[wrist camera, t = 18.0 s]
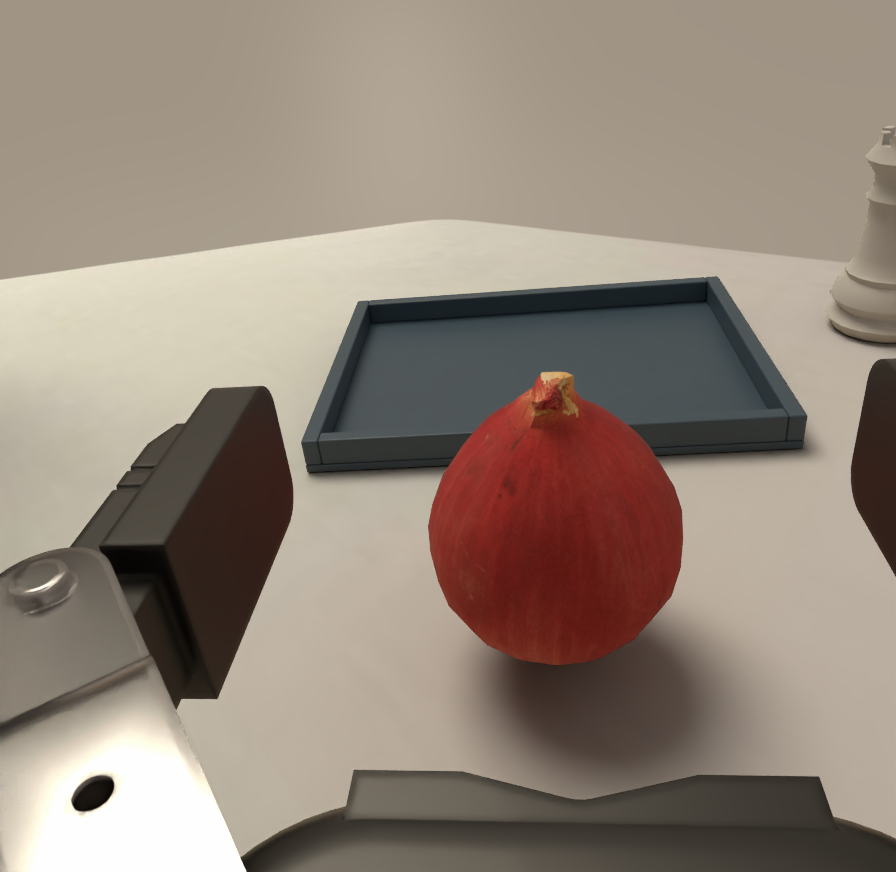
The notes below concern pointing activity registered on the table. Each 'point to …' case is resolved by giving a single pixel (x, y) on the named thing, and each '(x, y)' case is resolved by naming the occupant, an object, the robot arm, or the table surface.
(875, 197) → the rook chess piece
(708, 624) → the table surface
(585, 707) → the table surface
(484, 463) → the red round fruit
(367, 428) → the tray
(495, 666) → the table surface
